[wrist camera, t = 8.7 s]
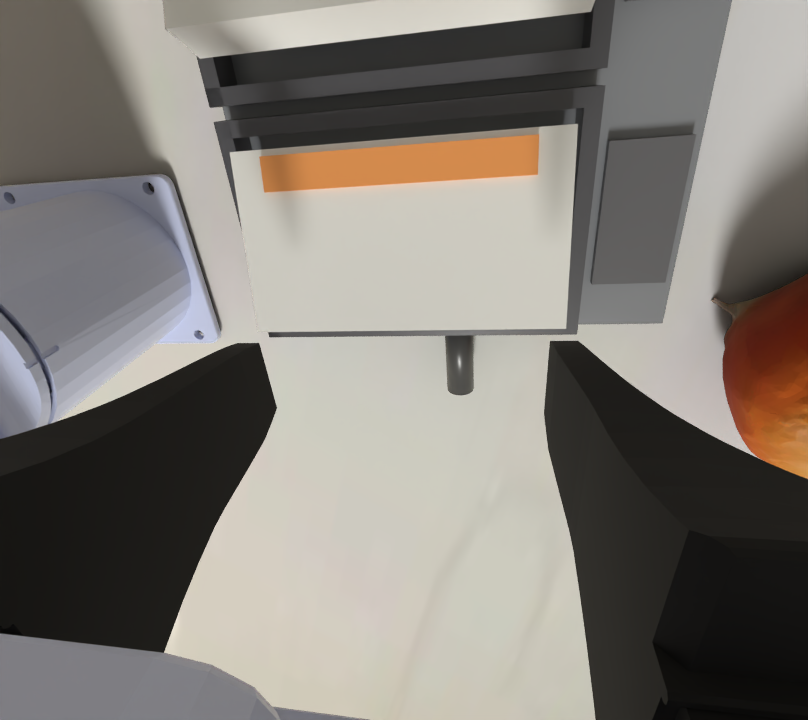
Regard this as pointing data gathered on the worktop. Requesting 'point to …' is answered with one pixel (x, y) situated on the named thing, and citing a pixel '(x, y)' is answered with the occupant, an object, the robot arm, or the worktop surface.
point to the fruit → (770, 374)
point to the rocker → (411, 232)
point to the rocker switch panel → (513, 109)
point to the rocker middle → (335, 20)
